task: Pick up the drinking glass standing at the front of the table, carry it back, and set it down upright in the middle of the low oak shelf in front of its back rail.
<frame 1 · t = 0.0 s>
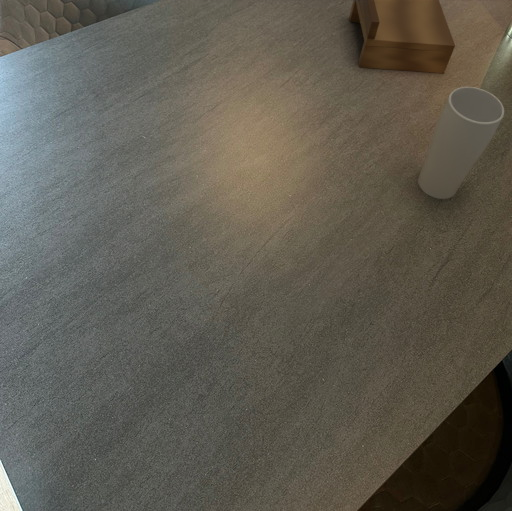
shelf: (394, 44, 104), on the table
drinking glass: (433, 192, 85), on the table
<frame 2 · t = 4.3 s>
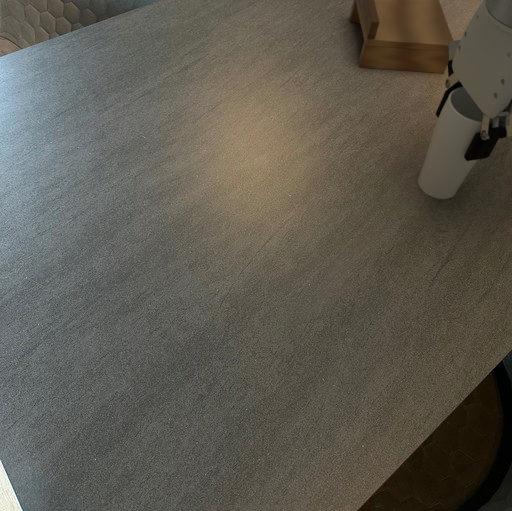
hand: (461, 135, 77), 10 cm above the table, tool pointing down, fingers closed on drinking glass, 6 cm apart
drinking glass: (433, 192, 85), on the table, touching gripper
when the fingers open (15 cm above the table, at t = 12.3 s): drinking glass stays where it is, resting on shelf.
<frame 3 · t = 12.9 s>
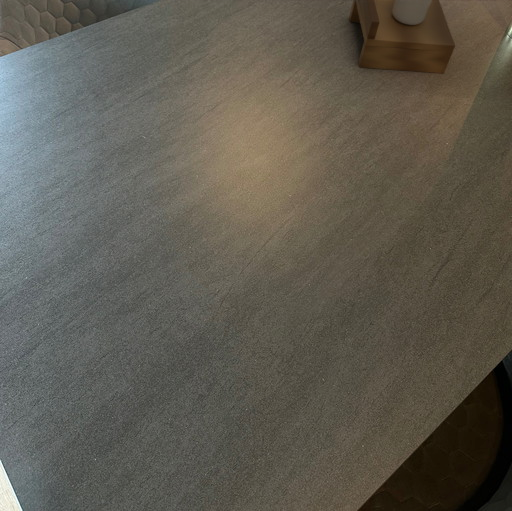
drinking glass: (407, 18, 100), point 5 cm above the table, touching shelf
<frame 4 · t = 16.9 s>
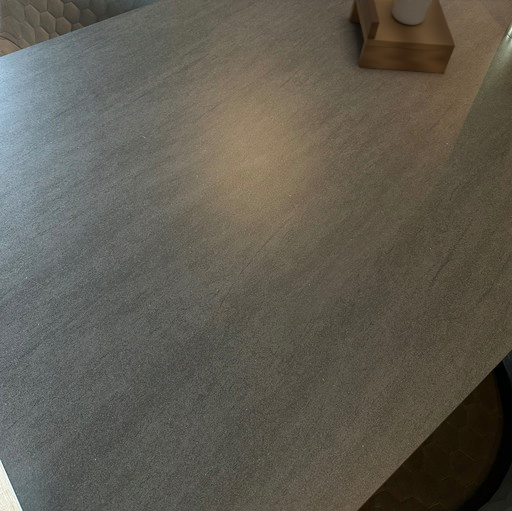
nothing on the table moved.
at the end: drinking glass inside the target area on the shelf (0.2 cm from its centre), point 5.0 cm above the shelf's base; drinking glass tilted 0°; the gripper is holding nothing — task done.
